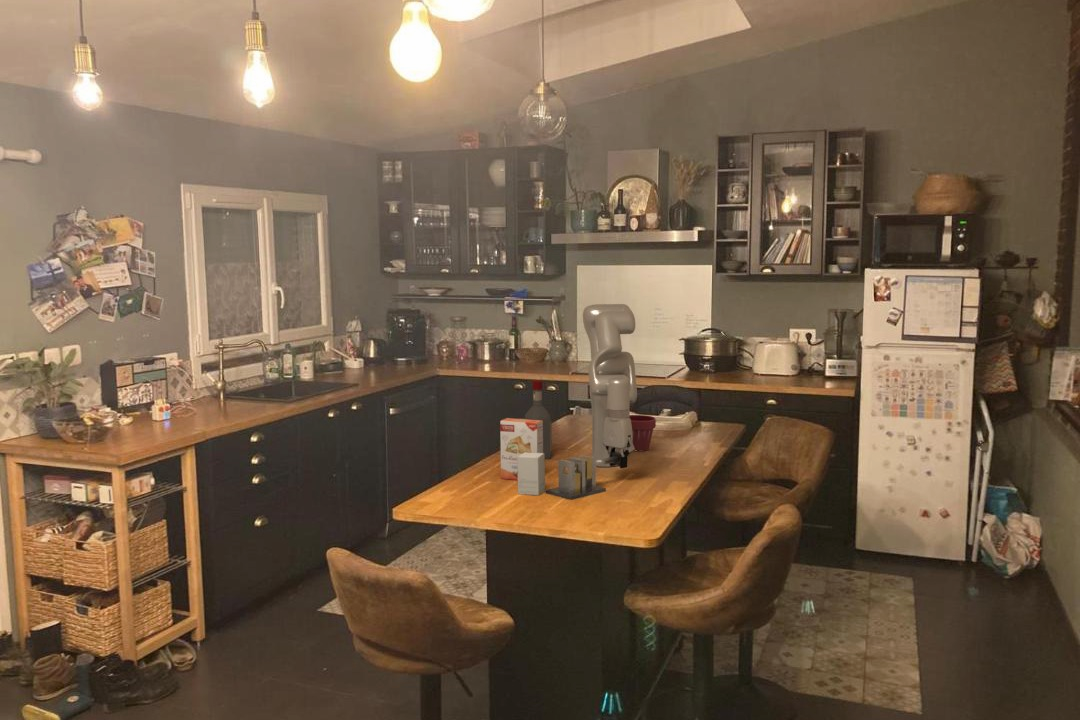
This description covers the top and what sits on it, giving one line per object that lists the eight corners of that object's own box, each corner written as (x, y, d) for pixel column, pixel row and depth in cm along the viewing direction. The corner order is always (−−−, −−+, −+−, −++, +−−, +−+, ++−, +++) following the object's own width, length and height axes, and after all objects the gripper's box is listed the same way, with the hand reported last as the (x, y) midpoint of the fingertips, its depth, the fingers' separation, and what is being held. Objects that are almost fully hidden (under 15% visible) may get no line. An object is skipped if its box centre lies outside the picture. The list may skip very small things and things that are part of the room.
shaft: (616, 462, 308) (616, 451, 308) (625, 464, 305) (625, 453, 305) (574, 472, 295) (574, 460, 294) (583, 474, 292) (583, 462, 291)
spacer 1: (567, 487, 294) (567, 470, 294) (580, 491, 290) (580, 473, 289) (562, 489, 293) (562, 471, 292) (575, 492, 288) (575, 474, 288)
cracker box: (500, 479, 311) (499, 420, 309) (507, 475, 317) (506, 417, 315) (537, 482, 306) (536, 422, 304) (543, 478, 312) (543, 419, 309)
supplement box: (545, 490, 295) (545, 453, 294) (538, 496, 288) (538, 457, 287) (524, 488, 298) (524, 451, 296) (517, 494, 291) (516, 456, 289)
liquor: (541, 454, 351) (540, 378, 348) (554, 458, 344) (554, 381, 340) (521, 457, 346) (521, 380, 343) (534, 461, 339) (533, 383, 335)
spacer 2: (579, 475, 298) (579, 457, 297) (592, 478, 293) (592, 460, 293) (574, 476, 296) (574, 458, 295) (587, 479, 292) (587, 461, 291)
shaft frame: (579, 484, 302) (579, 452, 301) (605, 491, 294) (605, 458, 293) (545, 493, 292) (545, 460, 291) (571, 500, 283) (571, 465, 282)
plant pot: (662, 449, 358) (663, 418, 357) (636, 454, 350) (636, 421, 349) (639, 443, 370) (639, 413, 369) (613, 448, 362) (613, 416, 361)
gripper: (593, 412, 308) (593, 464, 310) (629, 418, 296) (629, 472, 297) (608, 409, 313) (608, 461, 315) (644, 415, 301) (644, 468, 302)
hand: (618, 466), depth 306 cm, fingers closed on shaft, 4 cm apart
